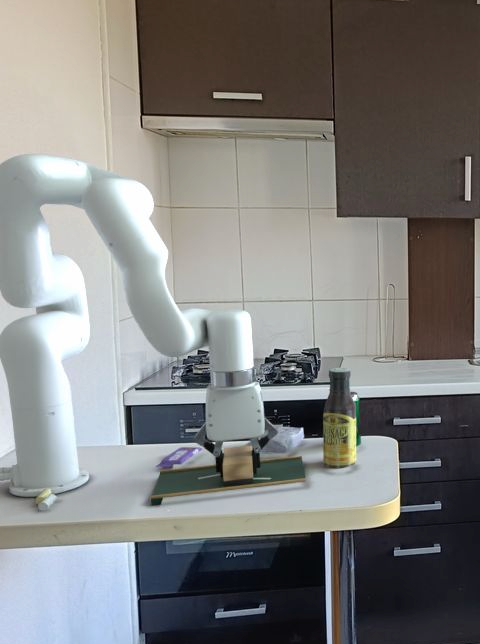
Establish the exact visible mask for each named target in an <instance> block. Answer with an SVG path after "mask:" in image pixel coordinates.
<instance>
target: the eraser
mask: <svg viewBox="0 0 480 644" xmlns="http://www.w3.org/2000/svg"><path fill="white" fill-rule="evenodd" d="M223 453H224V458H223V480H224V487H226V486H235V485H244V484H253V463H252V446H246V445H244V446H233V447H224V450H223Z"/></svg>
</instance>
